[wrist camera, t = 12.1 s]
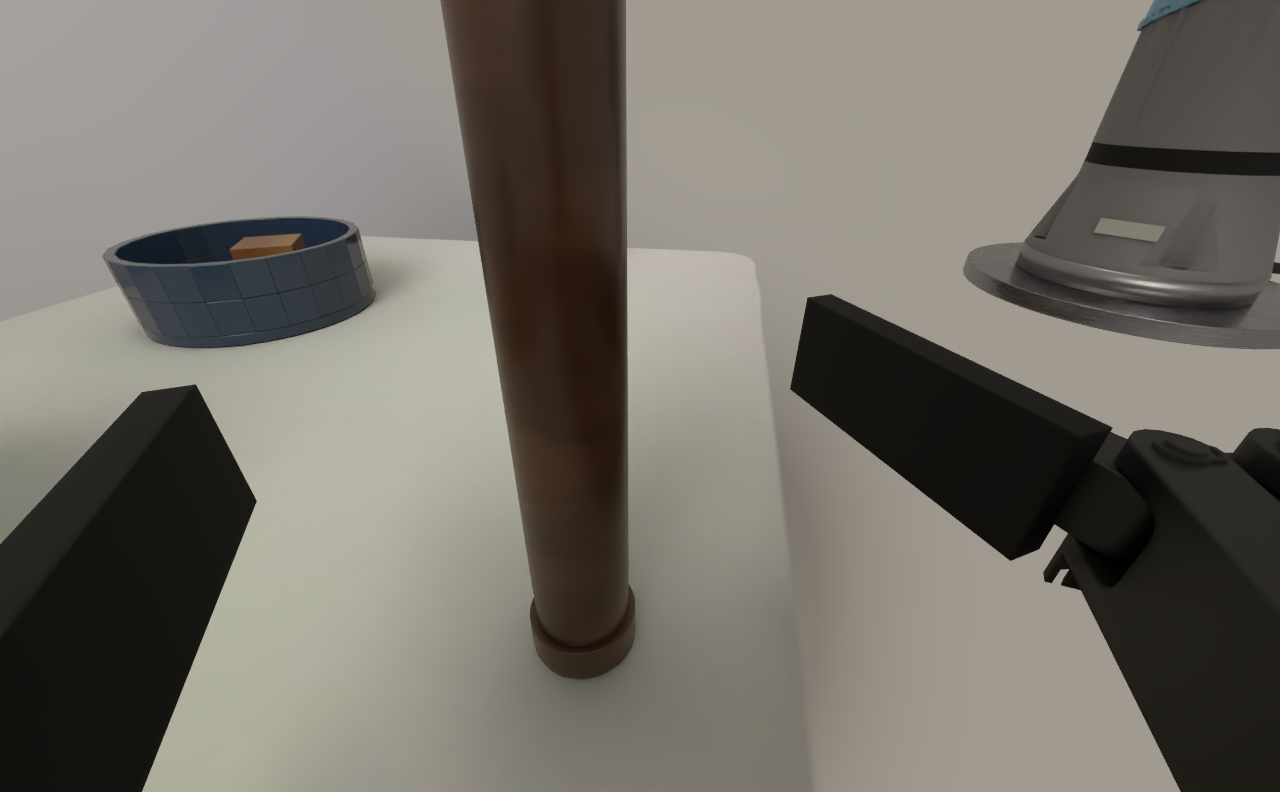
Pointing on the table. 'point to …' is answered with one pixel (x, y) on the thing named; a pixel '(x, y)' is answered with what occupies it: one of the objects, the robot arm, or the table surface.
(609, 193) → the muddler
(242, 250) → the block
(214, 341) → the bowl
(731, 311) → the table surface
